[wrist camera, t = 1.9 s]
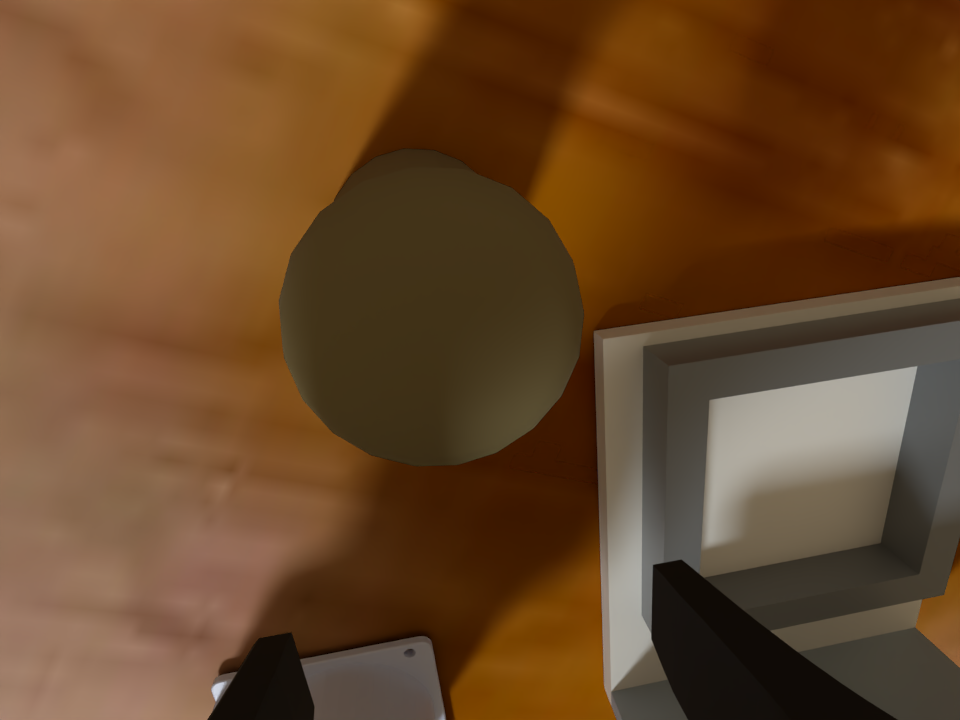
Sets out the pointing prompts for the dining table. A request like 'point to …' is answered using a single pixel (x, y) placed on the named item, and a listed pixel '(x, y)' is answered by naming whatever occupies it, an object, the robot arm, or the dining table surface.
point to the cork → (430, 312)
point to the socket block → (787, 484)
